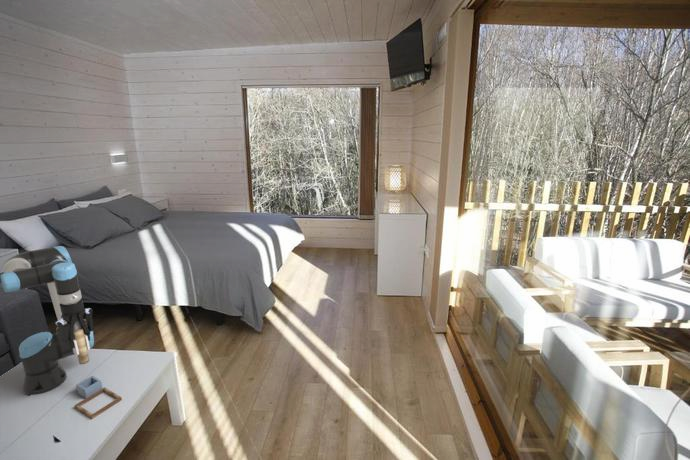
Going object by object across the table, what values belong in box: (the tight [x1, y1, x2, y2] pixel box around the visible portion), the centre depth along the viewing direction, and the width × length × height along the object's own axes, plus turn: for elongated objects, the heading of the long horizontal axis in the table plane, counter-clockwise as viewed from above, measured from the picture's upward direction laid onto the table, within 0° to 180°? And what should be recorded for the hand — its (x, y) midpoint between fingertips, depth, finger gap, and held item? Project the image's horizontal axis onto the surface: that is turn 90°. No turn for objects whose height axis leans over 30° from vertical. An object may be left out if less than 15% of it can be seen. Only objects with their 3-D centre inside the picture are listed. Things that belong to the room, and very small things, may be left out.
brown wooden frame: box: [74, 387, 123, 420], centre depth 156 cm, size 12×12×2 cm
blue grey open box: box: [76, 375, 104, 399], centre depth 162 cm, size 7×7×5 cm
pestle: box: [74, 328, 90, 365], centre depth 156 cm, size 4×4×15 cm
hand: (81, 350), depth 157 cm, fingers closed on pestle, 3 cm apart
